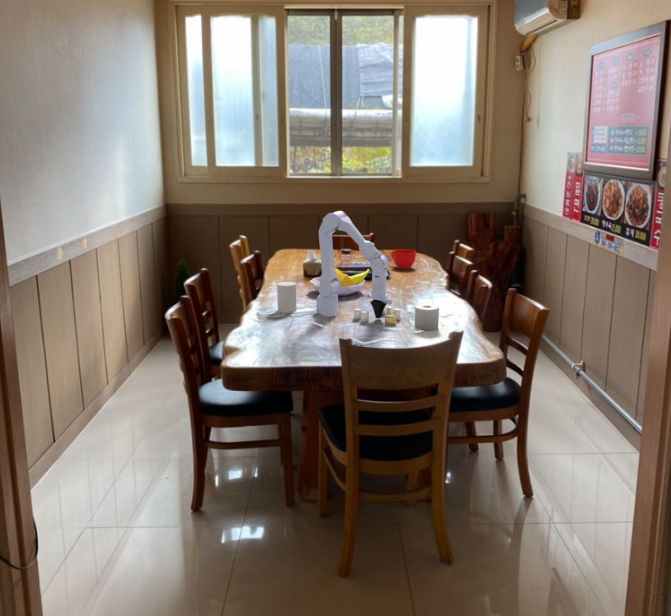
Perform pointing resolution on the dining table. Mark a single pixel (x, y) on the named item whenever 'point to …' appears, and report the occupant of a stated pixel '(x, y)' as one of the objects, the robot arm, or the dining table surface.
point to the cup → (286, 297)
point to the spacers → (387, 310)
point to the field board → (374, 320)
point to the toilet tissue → (426, 317)
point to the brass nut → (390, 320)
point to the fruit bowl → (345, 282)
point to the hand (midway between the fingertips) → (378, 317)
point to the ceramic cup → (403, 258)
